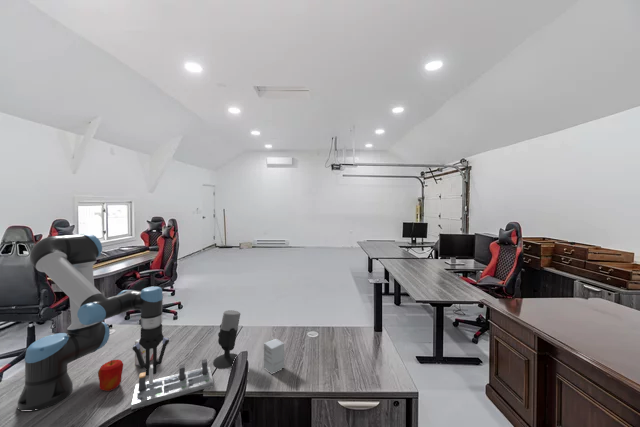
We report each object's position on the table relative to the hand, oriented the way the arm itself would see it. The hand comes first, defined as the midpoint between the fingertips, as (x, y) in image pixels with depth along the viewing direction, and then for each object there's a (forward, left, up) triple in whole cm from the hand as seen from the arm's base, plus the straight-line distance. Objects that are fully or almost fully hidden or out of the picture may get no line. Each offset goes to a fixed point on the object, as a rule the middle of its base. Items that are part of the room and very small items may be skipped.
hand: (151, 382), depth 107 cm
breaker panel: (+9, 0, -5) cm, 10 cm away
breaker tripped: (-3, 0, -3) cm, 4 cm away
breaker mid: (+11, 0, -3) cm, 12 cm away
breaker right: (+20, 0, -3) cm, 20 cm away
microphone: (+32, +10, -5) cm, 34 cm away
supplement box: (+51, -7, -5) cm, 51 cm away
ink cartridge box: (-4, +29, -5) cm, 30 cm away
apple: (-15, +12, -5) cm, 20 cm away
